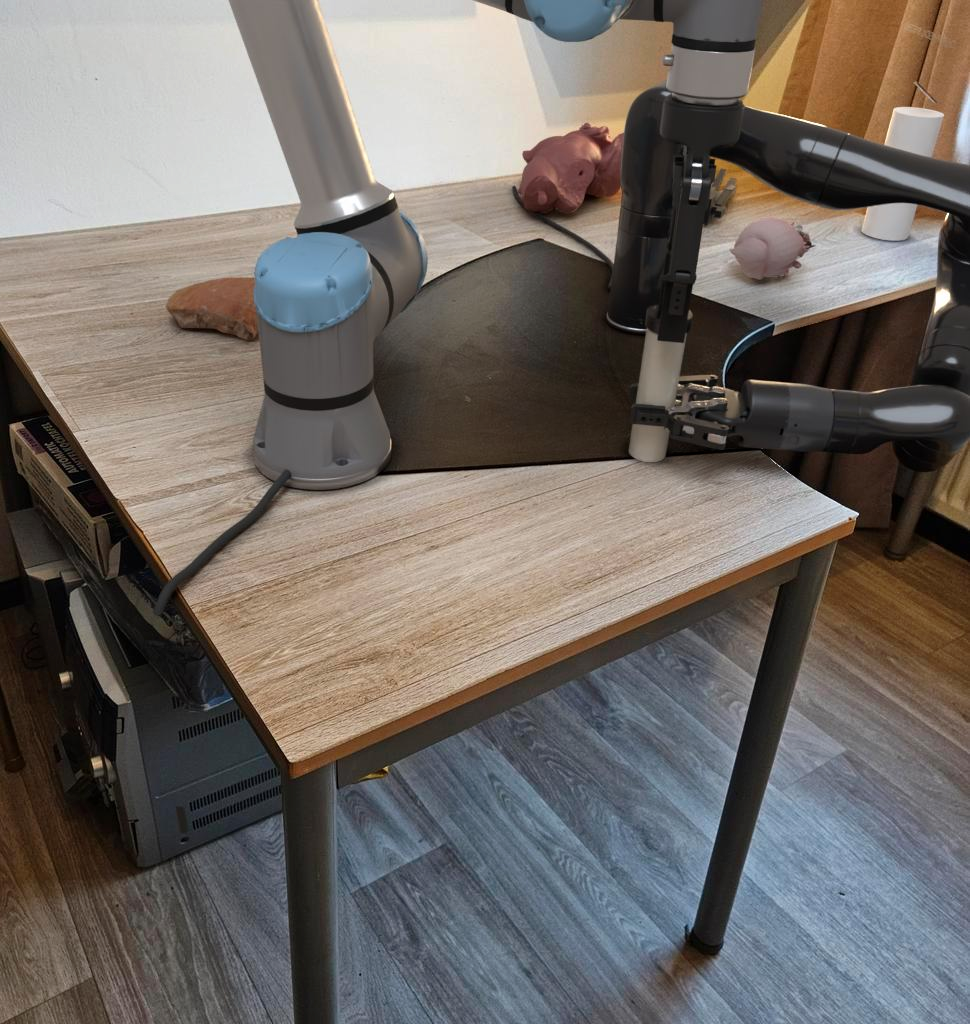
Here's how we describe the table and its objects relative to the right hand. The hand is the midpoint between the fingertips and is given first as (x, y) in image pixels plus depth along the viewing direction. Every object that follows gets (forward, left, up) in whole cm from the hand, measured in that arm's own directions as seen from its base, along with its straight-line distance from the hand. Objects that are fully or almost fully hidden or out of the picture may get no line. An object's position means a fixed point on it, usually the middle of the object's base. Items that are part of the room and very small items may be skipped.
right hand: (630, 403), depth 108 cm
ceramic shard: (-28, -56, -6) cm, 63 cm away
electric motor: (-66, -40, -6) cm, 78 cm away
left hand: (0, +3, +10) cm, 10 cm away
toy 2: (-64, +25, -6) cm, 68 cm away
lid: (0, +3, +11) cm, 11 cm away
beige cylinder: (0, +3, -6) cm, 7 cm away
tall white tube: (-92, +51, -6) cm, 106 cm away
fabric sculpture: (-96, -8, -6) cm, 97 cm away
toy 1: (-103, +19, -6) cm, 105 cm away
